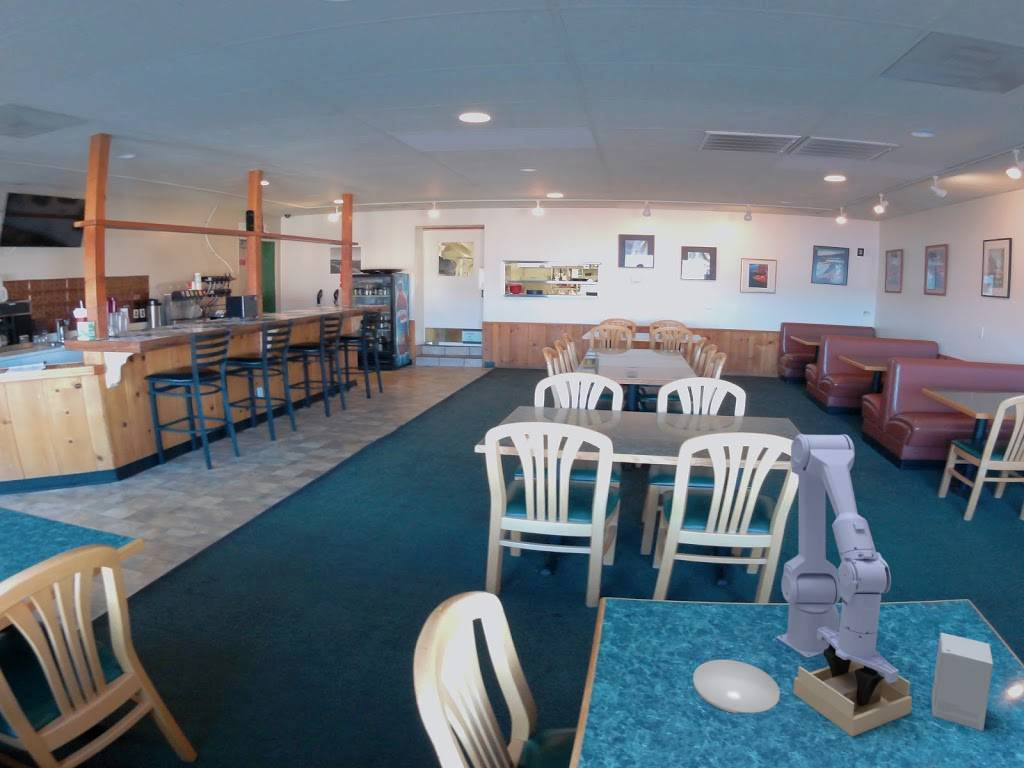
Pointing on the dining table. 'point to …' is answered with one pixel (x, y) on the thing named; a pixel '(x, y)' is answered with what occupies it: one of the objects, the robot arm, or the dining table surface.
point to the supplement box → (962, 680)
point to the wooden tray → (842, 709)
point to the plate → (735, 686)
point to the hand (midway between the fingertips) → (851, 696)
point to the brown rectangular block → (852, 688)
